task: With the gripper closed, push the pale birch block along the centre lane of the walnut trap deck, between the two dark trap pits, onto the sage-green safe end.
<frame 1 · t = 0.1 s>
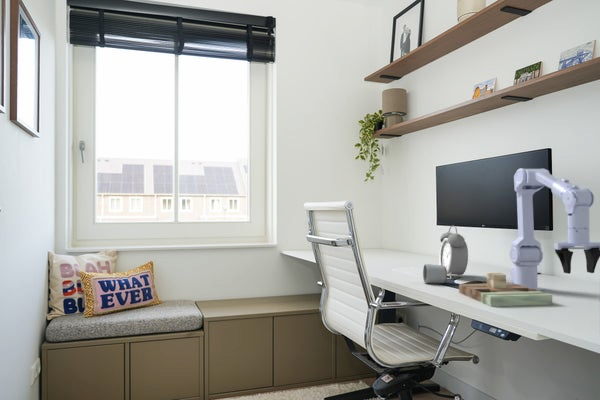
hand: (578, 272, 142), 10 cm above the table, fingers open, 7 cm apart
alarm clock: (453, 277, 199), on the table
birch block: (496, 286, 158), point 3 cm above the table, touching trap deck
ceramic mug: (433, 283, 184), on the table
trap deck: (502, 298, 154), on the table
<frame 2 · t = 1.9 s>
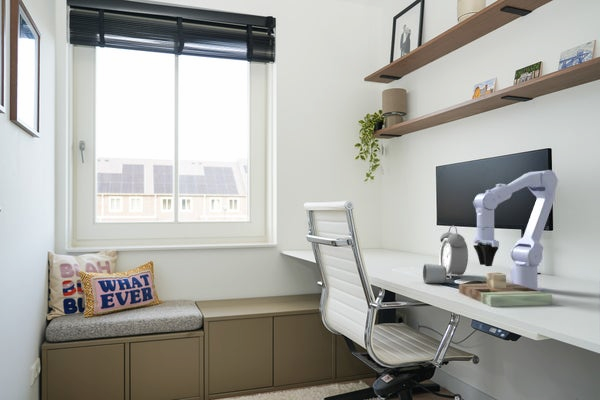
hand: (485, 265, 165), 9 cm above the table, fingers open, 3 cm apart
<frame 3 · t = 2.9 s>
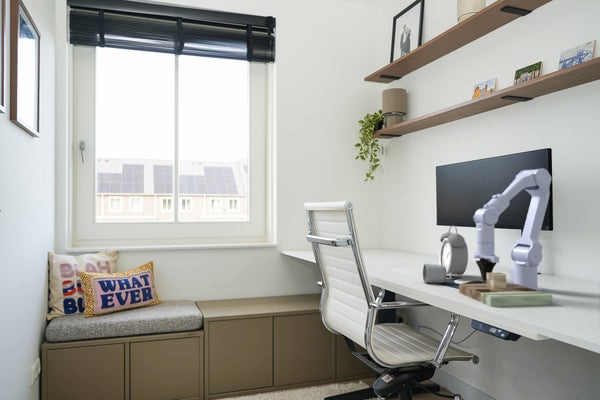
hand: (486, 280, 164), 4 cm above the table, fingers closed
nothing on the table moved.
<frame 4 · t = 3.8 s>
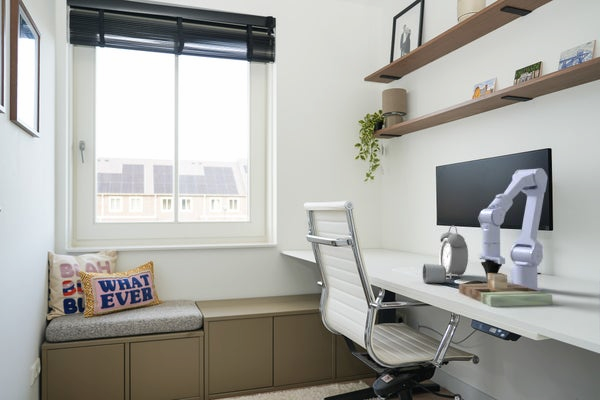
hand: (491, 282, 161), 4 cm above the table, fingers closed
birch block: (497, 287, 157), point 3 cm above the table, touching gripper
everything else where it was.
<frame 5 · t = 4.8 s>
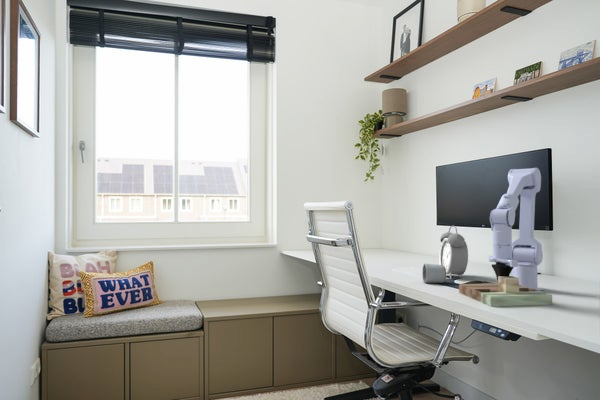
hand: (502, 286, 153), 4 cm above the table, fingers closed
birch block: (508, 291, 150), point 3 cm above the table, touching gripper
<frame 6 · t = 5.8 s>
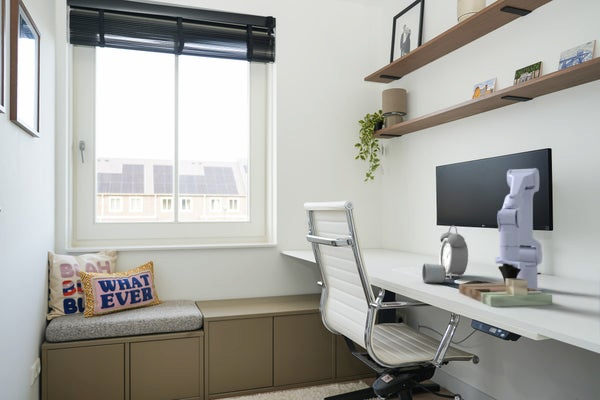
hand: (509, 288, 149), 4 cm above the table, fingers closed
birch block: (516, 293, 145), point 3 cm above the table, touching gripper, trap deck
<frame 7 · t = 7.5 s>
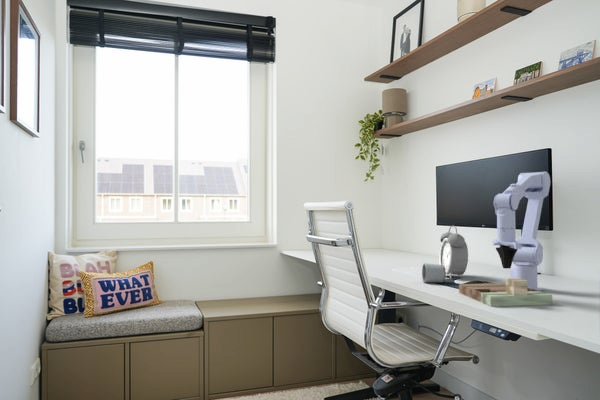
hand: (506, 268, 158), 9 cm above the table, fingers closed
birch block: (516, 293, 145), point 3 cm above the table, touching trap deck
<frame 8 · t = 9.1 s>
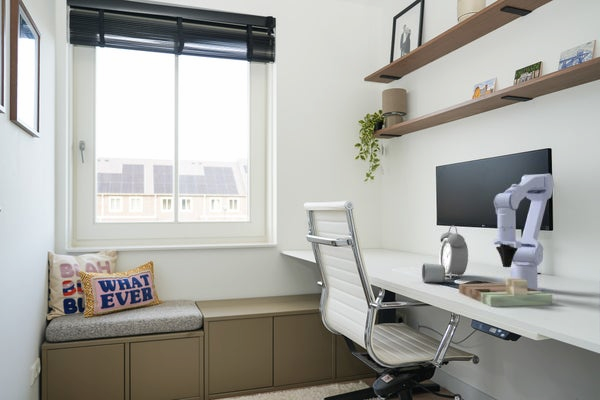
hand: (506, 267, 160), 9 cm above the table, fingers closed
at the end: birch block 0.1 cm from the target spot, point 3.0 cm above the table; birch block tilted 0° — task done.
